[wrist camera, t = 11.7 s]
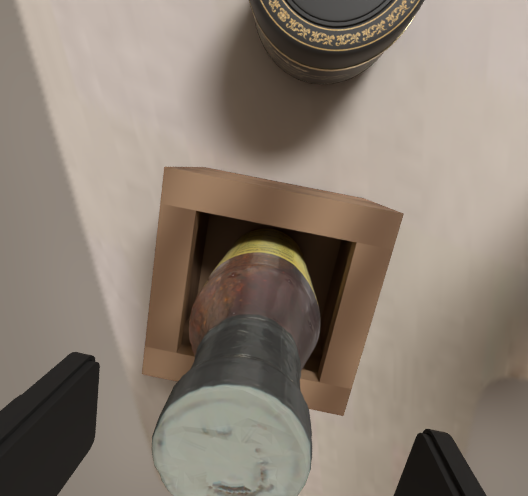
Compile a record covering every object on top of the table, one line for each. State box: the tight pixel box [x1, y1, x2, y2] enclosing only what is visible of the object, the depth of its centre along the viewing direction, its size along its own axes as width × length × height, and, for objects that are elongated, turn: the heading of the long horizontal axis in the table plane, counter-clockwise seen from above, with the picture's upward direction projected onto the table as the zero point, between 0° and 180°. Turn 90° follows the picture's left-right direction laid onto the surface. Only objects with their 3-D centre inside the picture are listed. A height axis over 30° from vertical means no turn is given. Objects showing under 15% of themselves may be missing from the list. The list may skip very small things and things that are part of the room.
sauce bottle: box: [152, 229, 320, 496], centre depth 18 cm, size 6×6×20 cm
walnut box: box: [142, 167, 403, 416], centre depth 23 cm, size 13×13×9 cm
